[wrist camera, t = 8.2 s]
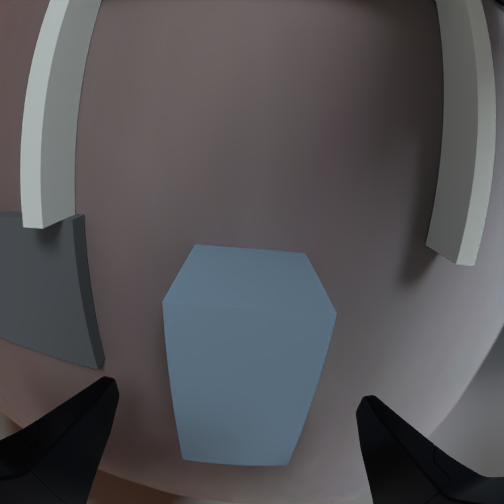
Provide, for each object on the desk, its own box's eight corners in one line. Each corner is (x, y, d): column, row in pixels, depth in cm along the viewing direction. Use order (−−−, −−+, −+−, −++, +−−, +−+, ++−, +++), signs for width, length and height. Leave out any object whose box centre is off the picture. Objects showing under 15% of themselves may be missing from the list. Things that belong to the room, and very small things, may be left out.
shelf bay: (450, -5, 7) (475, -20, 5) (443, 247, 12) (474, 266, 9) (100, -43, 7) (81, -64, 4) (56, 213, 11) (23, 227, 9)
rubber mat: (84, 214, 11) (72, 219, 10) (104, 358, 14) (98, 369, 13) (-37, 211, 11) (-47, 215, 10) (-14, 320, 13) (-22, 327, 12)
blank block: (304, 252, 12) (337, 314, 7) (279, 390, 15) (287, 465, 10) (195, 243, 12) (162, 301, 7) (197, 384, 14) (182, 459, 10)
